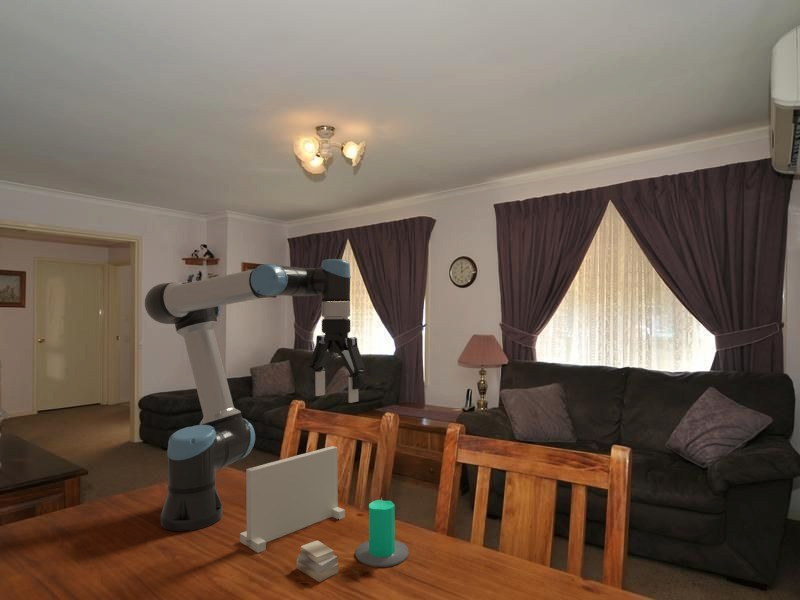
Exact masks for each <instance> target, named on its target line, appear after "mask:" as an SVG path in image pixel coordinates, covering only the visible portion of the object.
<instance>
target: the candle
mask: <svg viewBox="0 0 800 600" xmlns="http://www.w3.org/2000/svg"><path fill="white" fill-rule="evenodd" d="M395 507H396V506H395V504H394V503H393V502H392V501H391V500H383V497H381V499H376V500H373V501H371V502H370V503H369V504H368V541H369V553H370V554H371V555H372V556H376V557H387V556H390V555H392V554H393V553H394V552H395V540H396V529H395V528H396V521H395V518H396V517H395V516H396V514H395V512H396V508H395Z"/></svg>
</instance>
